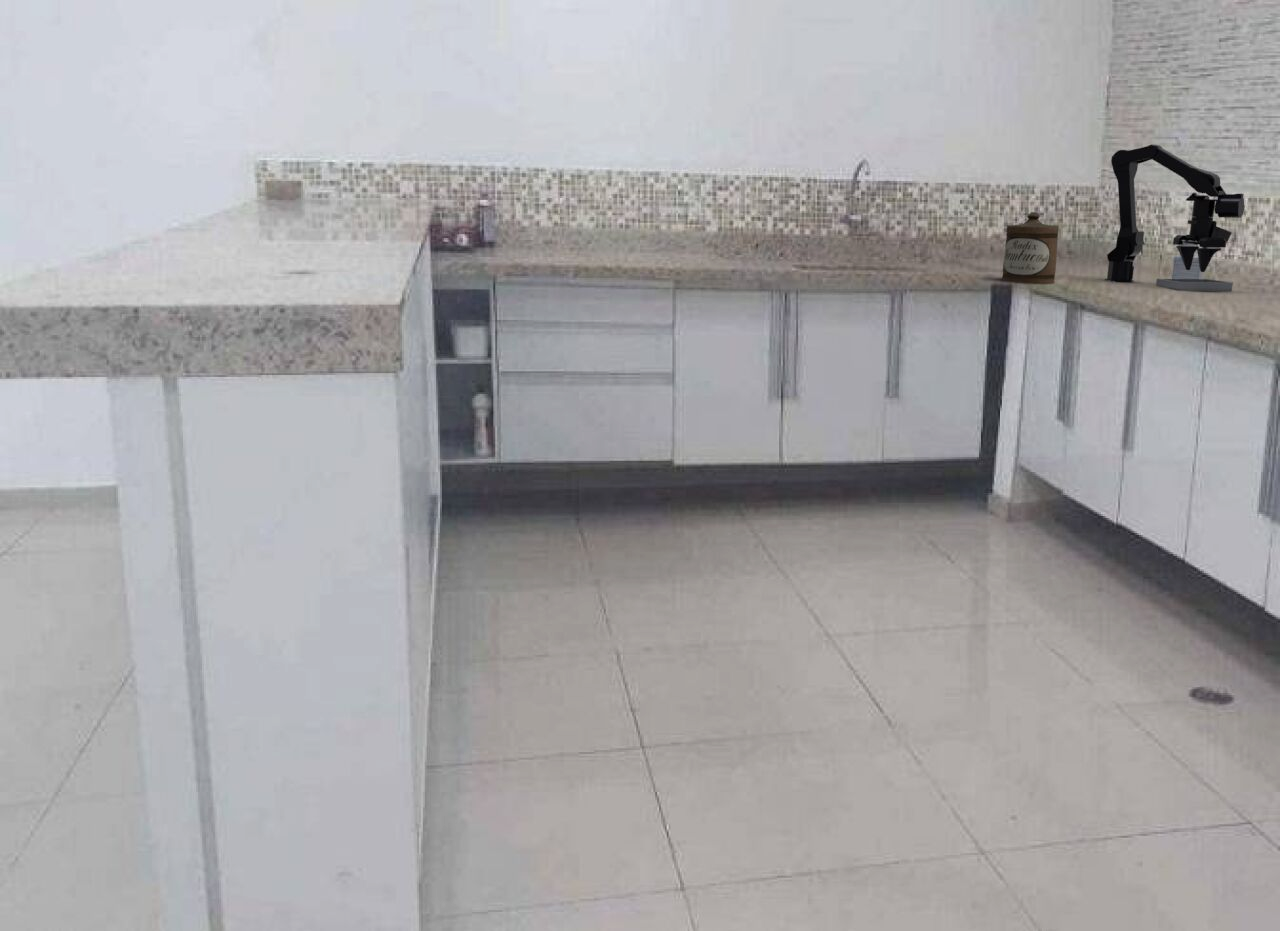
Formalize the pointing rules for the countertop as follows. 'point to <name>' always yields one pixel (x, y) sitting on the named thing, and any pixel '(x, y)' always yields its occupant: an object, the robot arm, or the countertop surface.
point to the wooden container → (1031, 252)
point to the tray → (1195, 284)
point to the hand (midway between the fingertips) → (1195, 271)
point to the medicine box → (1181, 272)
